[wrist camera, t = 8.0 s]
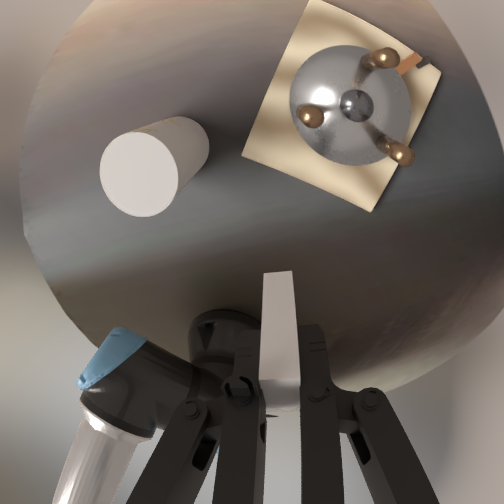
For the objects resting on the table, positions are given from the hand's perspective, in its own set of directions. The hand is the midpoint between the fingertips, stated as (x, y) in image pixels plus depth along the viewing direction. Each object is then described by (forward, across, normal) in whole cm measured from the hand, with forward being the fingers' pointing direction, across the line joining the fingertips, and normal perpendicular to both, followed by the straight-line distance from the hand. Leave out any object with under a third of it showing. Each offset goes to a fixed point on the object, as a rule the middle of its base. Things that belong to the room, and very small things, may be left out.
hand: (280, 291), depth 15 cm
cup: (+22, -11, +6) cm, 26 cm away
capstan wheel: (+20, +11, +10) cm, 25 cm away
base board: (+21, +10, +9) cm, 25 cm away
